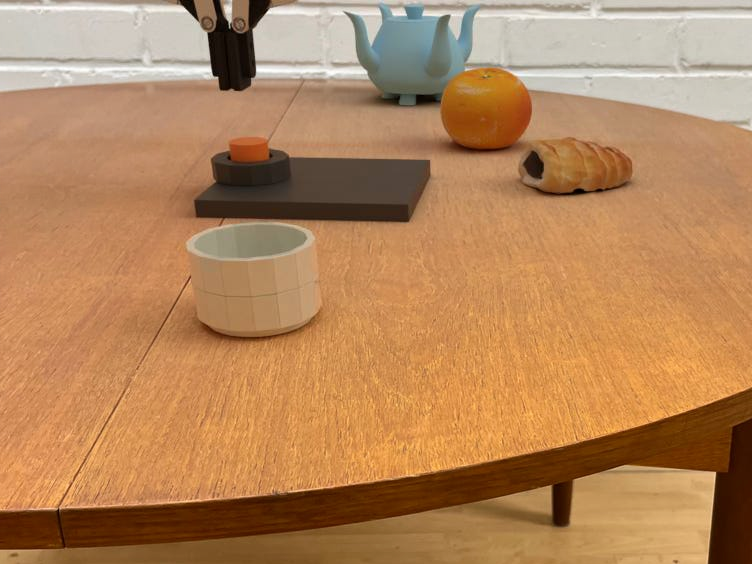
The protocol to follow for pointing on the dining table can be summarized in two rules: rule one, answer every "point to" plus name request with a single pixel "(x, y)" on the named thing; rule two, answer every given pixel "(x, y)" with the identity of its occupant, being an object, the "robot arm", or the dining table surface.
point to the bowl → (254, 278)
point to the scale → (314, 188)
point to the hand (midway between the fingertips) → (235, 87)
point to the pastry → (573, 166)
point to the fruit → (485, 108)
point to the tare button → (249, 149)
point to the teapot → (413, 52)
